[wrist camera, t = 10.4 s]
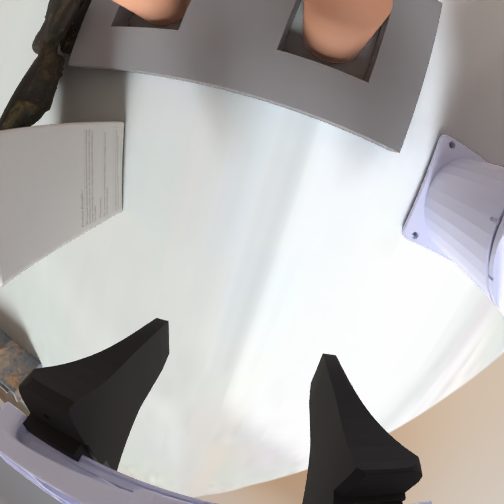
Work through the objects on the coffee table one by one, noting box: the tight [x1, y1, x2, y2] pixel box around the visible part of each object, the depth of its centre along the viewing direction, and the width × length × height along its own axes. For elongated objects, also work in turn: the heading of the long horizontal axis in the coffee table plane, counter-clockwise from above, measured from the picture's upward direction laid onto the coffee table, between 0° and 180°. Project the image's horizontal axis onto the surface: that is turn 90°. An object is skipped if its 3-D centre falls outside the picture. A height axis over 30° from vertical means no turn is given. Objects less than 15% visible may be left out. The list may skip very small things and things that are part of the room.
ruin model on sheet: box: [0, 330, 42, 402], centre depth 29 cm, size 11×3×10 cm, turn 69°
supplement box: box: [0, 121, 124, 287], centre depth 15 cm, size 7×7×13 cm
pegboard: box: [68, 0, 442, 153], centre depth 14 cm, size 24×12×2 cm, turn 72°
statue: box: [0, 0, 84, 131], centre depth 14 cm, size 6×6×20 cm
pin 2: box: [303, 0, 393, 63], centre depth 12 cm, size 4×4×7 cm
